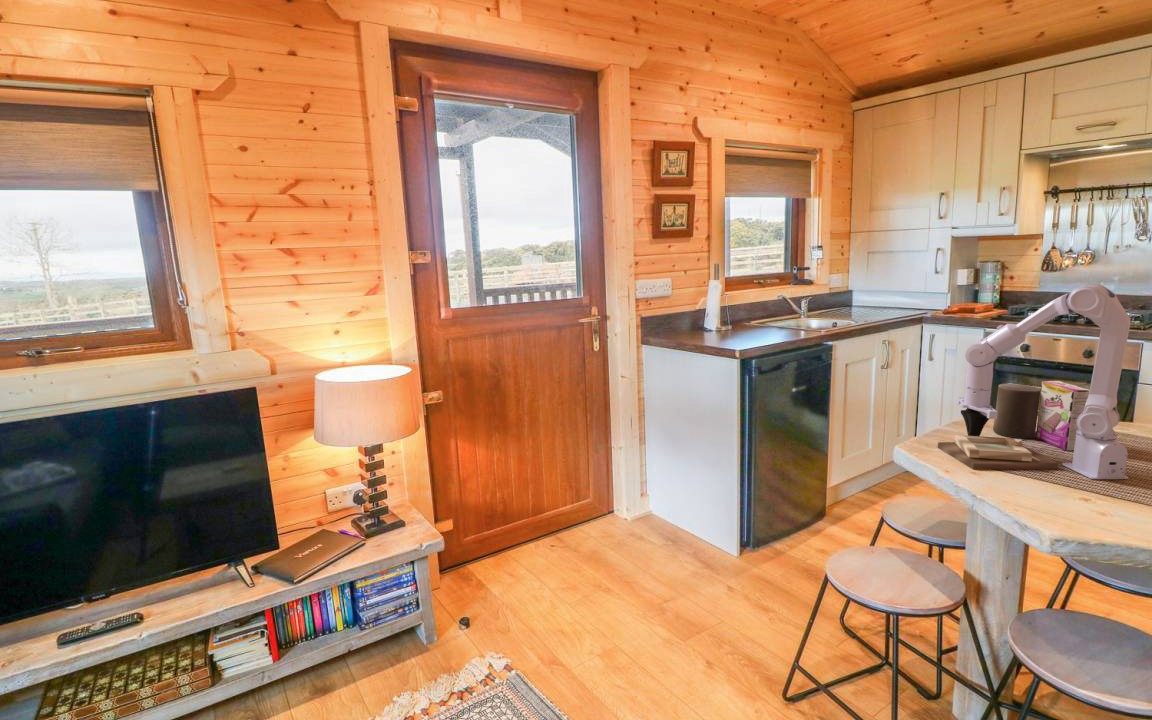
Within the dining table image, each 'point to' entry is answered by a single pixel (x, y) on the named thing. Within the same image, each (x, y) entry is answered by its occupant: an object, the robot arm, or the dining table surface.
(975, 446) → the cabinet door with knob
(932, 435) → the dining table surface
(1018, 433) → the pillar candle
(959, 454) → the walnut board
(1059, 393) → the candy bar box
